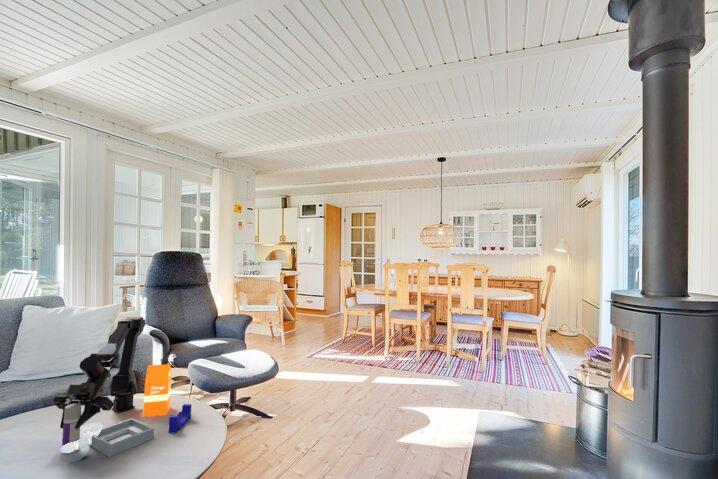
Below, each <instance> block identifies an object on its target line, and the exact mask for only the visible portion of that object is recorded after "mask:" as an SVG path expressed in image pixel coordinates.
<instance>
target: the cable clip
mask: <svg viewBox="0 0 718 479" xmlns="http://www.w3.org/2000/svg"><path fill="white" fill-rule="evenodd" d="M181 407H182V408H181V411H179V412H178V413H177V414H176V415H170V416H169V417H168V434H177V433H178V432H179V431H180V430H181V429H182V428H183V427H184V426H185V425H186V424H187V423H188V422H190V420H191V419H192V403H184V404H182V406H181Z"/></svg>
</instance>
